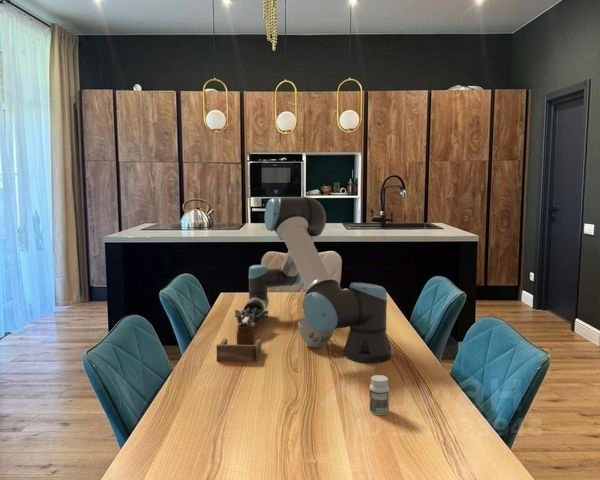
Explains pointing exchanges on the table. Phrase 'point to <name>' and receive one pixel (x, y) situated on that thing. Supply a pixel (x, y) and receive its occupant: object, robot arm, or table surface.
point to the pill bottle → (379, 395)
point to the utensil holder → (245, 333)
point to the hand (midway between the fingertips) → (244, 325)
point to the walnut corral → (238, 352)
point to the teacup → (313, 335)
